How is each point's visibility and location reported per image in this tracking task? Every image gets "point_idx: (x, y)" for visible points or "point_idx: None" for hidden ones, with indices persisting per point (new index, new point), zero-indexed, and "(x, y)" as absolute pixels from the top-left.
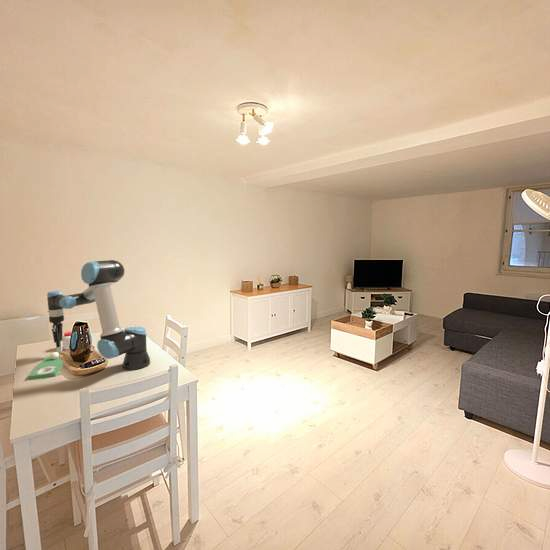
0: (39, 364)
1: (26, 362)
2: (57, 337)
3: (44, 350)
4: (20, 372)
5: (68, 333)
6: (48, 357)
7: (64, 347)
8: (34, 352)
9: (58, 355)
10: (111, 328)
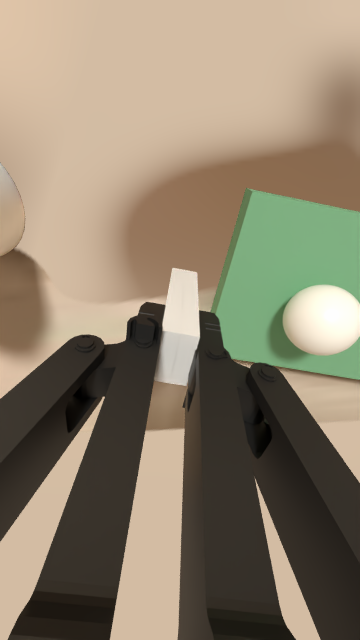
0: (345, 376)
1: None
2: (332, 465)
3: (2, 362)
4: (330, 419)
5: None
6: (231, 343)
7: (2, 251)
8: None
9: (347, 292)
10: None
